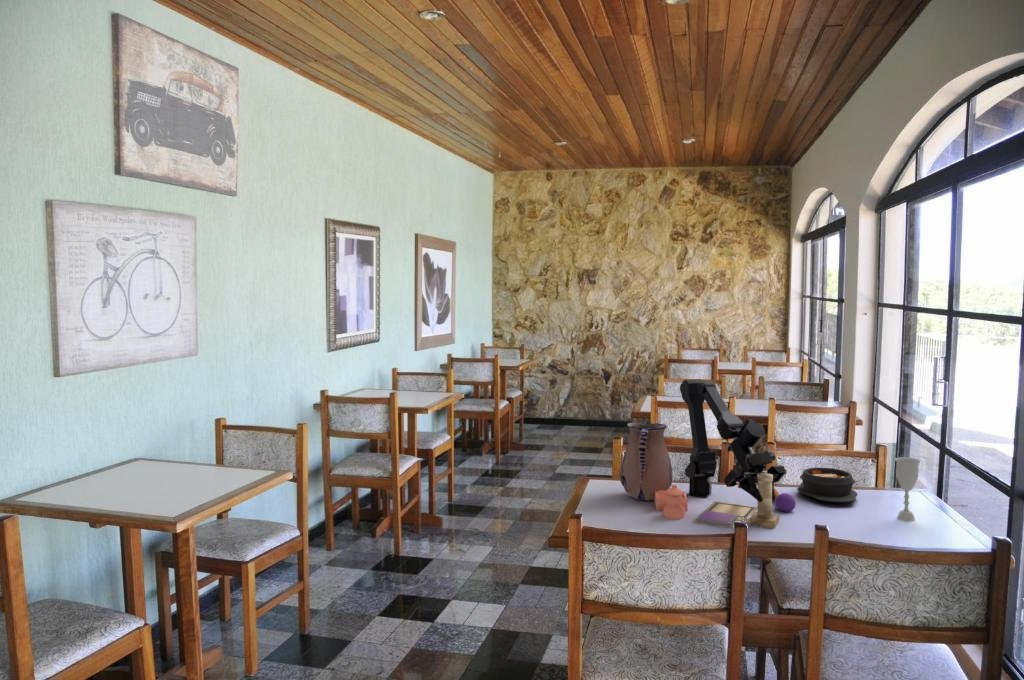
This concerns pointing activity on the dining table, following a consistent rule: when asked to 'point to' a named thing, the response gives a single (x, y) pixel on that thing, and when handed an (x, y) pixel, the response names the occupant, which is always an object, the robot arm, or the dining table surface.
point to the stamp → (764, 503)
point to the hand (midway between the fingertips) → (767, 500)
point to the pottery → (671, 502)
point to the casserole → (828, 485)
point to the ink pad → (717, 518)
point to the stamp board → (731, 511)
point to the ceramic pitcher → (646, 461)
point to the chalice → (907, 482)
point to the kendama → (784, 501)
